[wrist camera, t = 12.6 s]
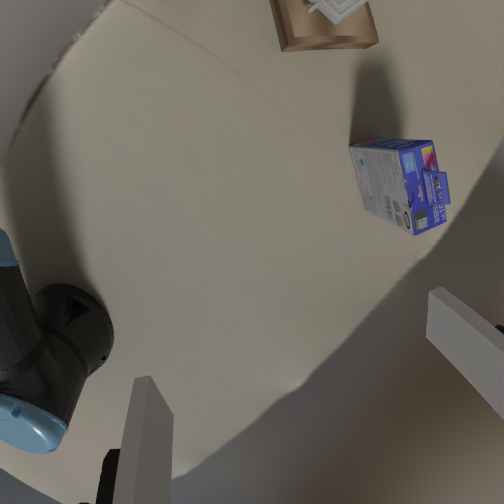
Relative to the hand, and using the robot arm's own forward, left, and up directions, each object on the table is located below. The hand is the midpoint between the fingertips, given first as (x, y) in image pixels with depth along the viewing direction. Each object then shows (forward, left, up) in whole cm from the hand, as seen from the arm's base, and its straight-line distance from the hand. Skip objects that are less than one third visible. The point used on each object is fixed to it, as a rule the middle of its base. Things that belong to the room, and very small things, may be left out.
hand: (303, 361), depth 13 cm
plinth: (+15, +25, -30) cm, 42 cm away
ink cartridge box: (+19, +1, -30) cm, 35 cm away
